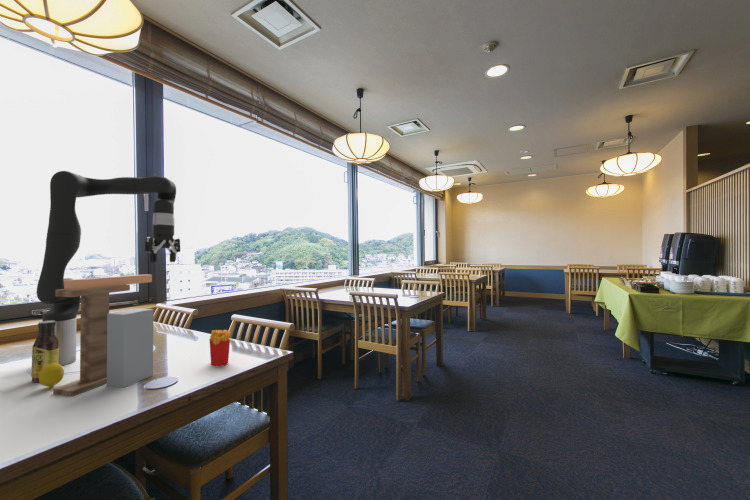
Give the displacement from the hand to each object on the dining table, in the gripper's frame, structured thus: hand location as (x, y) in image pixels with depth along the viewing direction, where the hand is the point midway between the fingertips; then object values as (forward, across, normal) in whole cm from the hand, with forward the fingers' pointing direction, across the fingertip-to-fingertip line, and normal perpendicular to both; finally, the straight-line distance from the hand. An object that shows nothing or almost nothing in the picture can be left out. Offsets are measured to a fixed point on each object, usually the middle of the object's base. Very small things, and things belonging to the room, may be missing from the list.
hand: (163, 262), depth 127 cm
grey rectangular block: (+40, +23, +13) cm, 47 cm away
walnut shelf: (+40, +27, +4) cm, 48 cm away
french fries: (+40, +2, +31) cm, 50 cm away
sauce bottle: (+40, +29, -16) cm, 52 cm away
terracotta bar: (+8, +22, +3) cm, 23 cm away
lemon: (+40, +33, -6) cm, 52 cm away
